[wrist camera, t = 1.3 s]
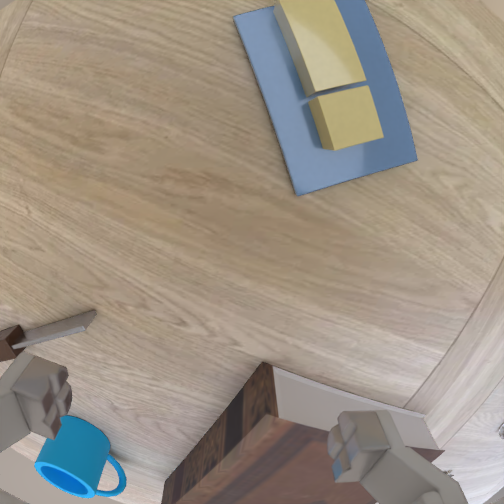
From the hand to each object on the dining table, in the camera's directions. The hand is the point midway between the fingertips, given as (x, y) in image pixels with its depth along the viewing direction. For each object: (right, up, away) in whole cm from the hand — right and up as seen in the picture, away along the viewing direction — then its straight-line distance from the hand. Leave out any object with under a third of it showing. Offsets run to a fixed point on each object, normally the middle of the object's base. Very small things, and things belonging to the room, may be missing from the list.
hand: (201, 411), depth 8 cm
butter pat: (+7, +14, +12) cm, 20 cm away
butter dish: (+7, +16, +12) cm, 22 cm away
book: (+6, -22, +27) cm, 35 cm away
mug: (-20, -21, +25) cm, 38 cm away
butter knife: (-22, -4, +19) cm, 29 cm away
